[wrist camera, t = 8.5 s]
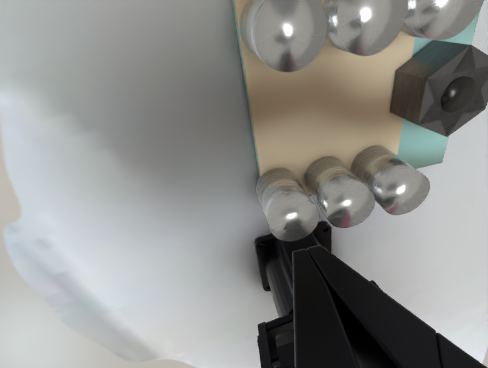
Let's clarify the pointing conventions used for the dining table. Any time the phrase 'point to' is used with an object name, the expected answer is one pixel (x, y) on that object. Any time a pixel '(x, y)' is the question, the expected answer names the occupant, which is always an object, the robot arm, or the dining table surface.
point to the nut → (441, 86)
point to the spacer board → (335, 107)
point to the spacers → (359, 43)
